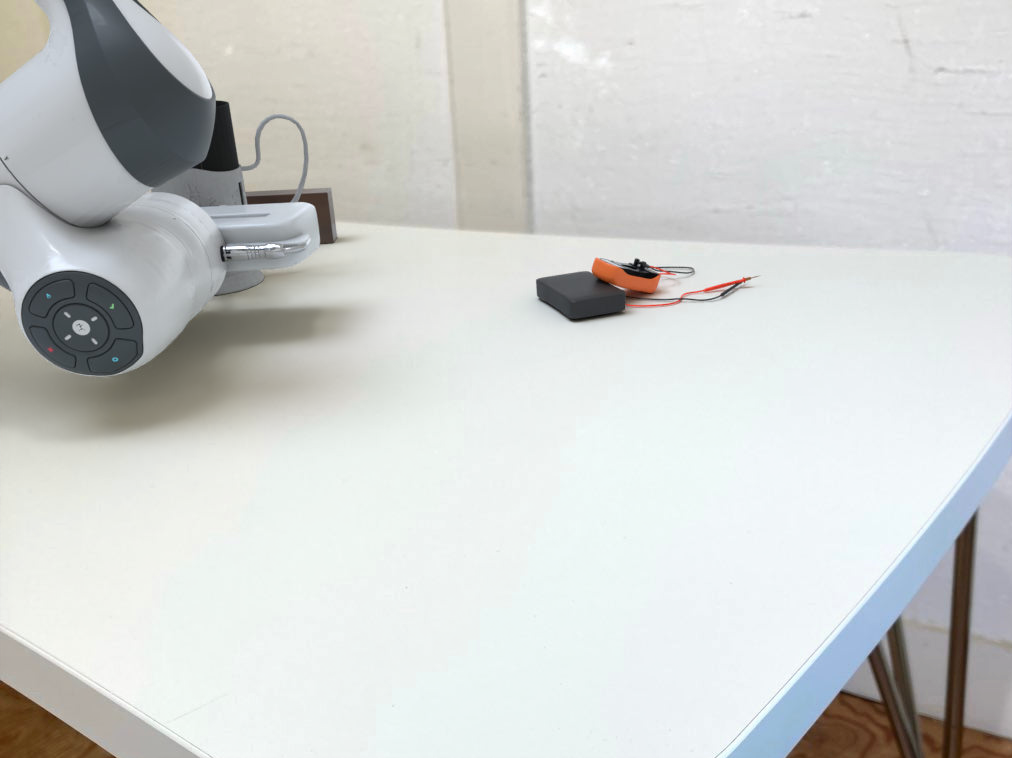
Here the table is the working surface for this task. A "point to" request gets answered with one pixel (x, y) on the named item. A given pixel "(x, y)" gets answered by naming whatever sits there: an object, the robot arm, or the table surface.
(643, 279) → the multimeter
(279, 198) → the bar
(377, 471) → the table surface
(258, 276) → the glass holder
